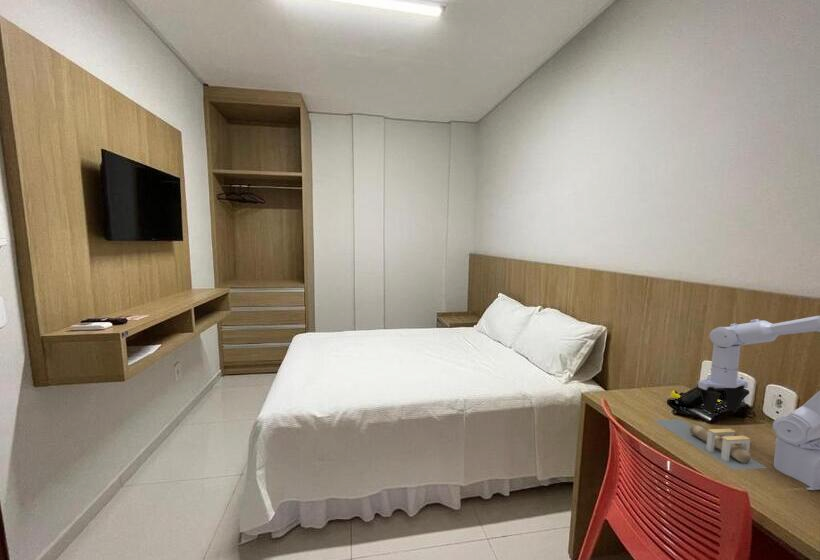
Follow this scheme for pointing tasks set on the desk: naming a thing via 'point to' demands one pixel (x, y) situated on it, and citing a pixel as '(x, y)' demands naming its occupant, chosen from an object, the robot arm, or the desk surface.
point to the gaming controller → (678, 395)
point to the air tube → (734, 450)
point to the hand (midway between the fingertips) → (720, 411)
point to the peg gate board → (708, 447)
